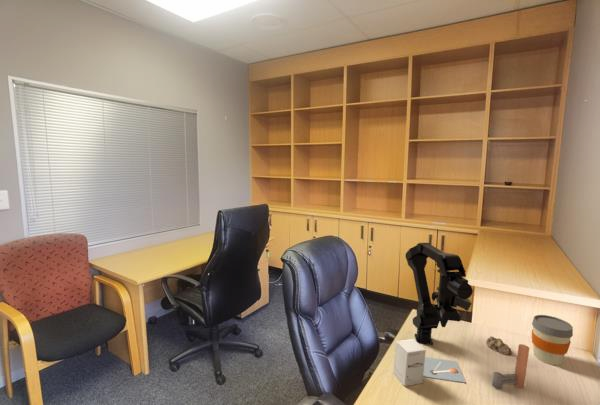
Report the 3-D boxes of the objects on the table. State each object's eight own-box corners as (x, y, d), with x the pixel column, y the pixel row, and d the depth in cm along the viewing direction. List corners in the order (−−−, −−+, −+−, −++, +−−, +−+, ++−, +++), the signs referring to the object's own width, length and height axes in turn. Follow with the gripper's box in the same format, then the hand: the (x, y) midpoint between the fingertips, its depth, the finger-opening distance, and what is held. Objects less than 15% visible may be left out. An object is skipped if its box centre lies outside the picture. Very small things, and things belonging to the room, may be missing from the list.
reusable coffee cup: (575, 370, 121) (581, 333, 119) (537, 365, 123) (542, 328, 121) (556, 351, 133) (561, 316, 131) (522, 346, 135) (526, 312, 133)
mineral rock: (480, 337, 138) (495, 330, 139) (481, 346, 139) (496, 339, 140) (501, 353, 127) (518, 345, 129) (502, 362, 128) (518, 355, 130)
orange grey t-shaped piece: (495, 389, 109) (500, 350, 107) (490, 382, 112) (494, 344, 110) (526, 387, 110) (531, 349, 108) (519, 381, 113) (524, 344, 111)
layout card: (417, 356, 126) (417, 355, 126) (455, 361, 124) (456, 360, 124) (423, 376, 115) (423, 375, 115) (465, 383, 112) (465, 382, 112)
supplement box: (404, 387, 109) (407, 352, 107) (392, 373, 116) (394, 340, 114) (423, 383, 111) (426, 349, 109) (410, 370, 118) (413, 337, 116)
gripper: (479, 300, 111) (474, 343, 113) (462, 280, 129) (458, 317, 132) (444, 297, 113) (440, 339, 115) (433, 277, 131) (429, 314, 134)
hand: (443, 326), depth 124 cm, fingers closed
